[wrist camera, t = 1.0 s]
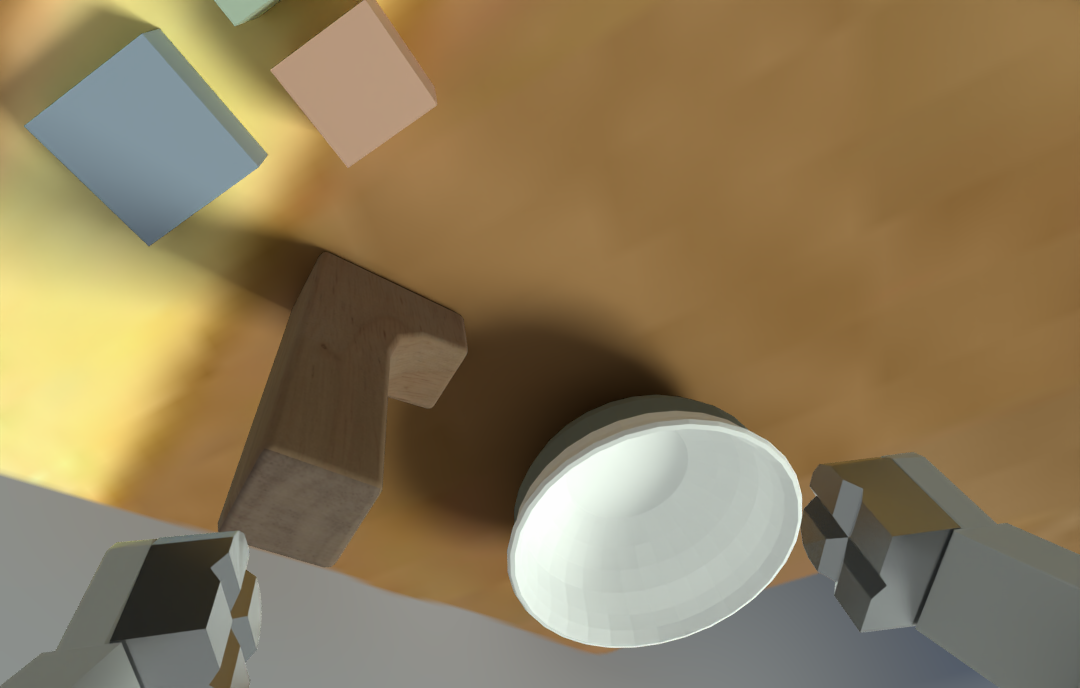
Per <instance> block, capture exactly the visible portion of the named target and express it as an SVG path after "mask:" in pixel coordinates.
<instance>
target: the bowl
mask: <svg viewBox="0 0 1080 688" xmlns="http://www.w3.org/2000/svg"><path fill="white" fill-rule="evenodd" d="M801 521H802V494H801V490H800V486H799V483H798V479H797V475H796V473H795V472H794V470H793V469H792V467H791V465H790V464H789V462H788V460H787V459H786V457H785V456H784V455H783V454H782V453H781V452H780V451H779V450H777V449H776V448H775V447H774V446H773V445H772V444H771V443H770V442H769V441H768V440H766V439H764V438H762V437H760V436H758V435H756V434H754V433H752V432H751V431H749V430H748V429H747V428H746V427H745V426H743V425H742V424H741V423H740V422H739V421H738V420H737V419H736V418H735V417H733V416H732V415H730V414H728V413H726V412H724V411H723V410H721V409H719V408H717V407H715V406H713V405H709V404H706V403H702V402H699V401H695V400H692V399H687V398H683V397H678V396H666V395H646V396H634V397H629V398H625V399H621V400H618V401H614V402H610V403H607V404H605V405H602V406H600V407H598V408H596V409H593V410H591V411H589V412H586V413H585V414H583V415H582V416H580V417H579V418H577V419H575V420H574V421H572V422H571V423H569V424H568V425H566V426H565V427H564V428H563V429H562V430H561V431H559V432H558V433H557V434H556V435H555V436H554V437H553V438H552V439H551V440H549V442H548V443H547V444H546V446H545V447H544V448H543V449H542V451H541V452H540V453H539V455H538V456H537V457H536V459H535V460H534V462H533V463H532V465H531V466H530V468H529V470H528V472H527V474H526V476H525V478H524V480H523V482H522V484H521V486H520V488H519V491H518V495H517V500H516V504H515V508H514V526H513V529H512V533H511V537H510V541H509V545H508V550H507V560H508V575H509V578H510V581H511V584H512V587H513V591H514V593H515V595H516V596H517V598H518V599H519V601H520V602H521V604H522V605H523V607H524V608H525V610H526V611H527V612H528V613H529V614H530V615H532V616H533V617H534V618H535V619H536V620H537V621H538V622H539V623H541V624H542V625H543V626H544V627H546V628H548V629H549V630H551V631H553V632H555V633H557V634H558V635H560V636H562V637H564V638H568V639H571V640H574V641H577V642H580V643H583V644H588V645H595V646H602V647H609V648H622V647H641V646H648V645H655V644H661V643H665V642H669V641H672V640H676V639H680V638H683V637H687V636H689V635H691V634H694V633H696V632H699V631H701V630H704V629H706V628H709V627H711V626H713V625H714V624H716V623H718V622H720V621H722V620H723V619H725V618H727V617H729V616H731V615H732V614H734V613H735V612H736V611H738V610H739V609H741V608H742V607H743V606H745V605H746V604H747V603H749V602H750V601H751V600H753V599H754V598H755V597H756V596H757V595H758V594H759V593H760V592H761V591H762V590H763V589H764V588H765V587H766V586H767V585H768V584H769V583H770V582H771V581H772V580H773V579H774V577H775V576H776V575H777V573H778V572H779V571H780V569H781V568H782V567H783V565H784V564H785V563H786V561H787V559H788V557H789V555H790V553H791V551H792V549H793V547H794V545H795V543H796V540H797V536H798V532H799V528H800V524H801Z"/></svg>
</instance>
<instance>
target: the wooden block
mask: <svg viewBox="0 0 1080 688" xmlns="http://www.w3.org/2000/svg"><path fill="white" fill-rule="evenodd" d="M467 352H468V347H467V340H466V333H465V326H464V319H463V318H462V316H461V315H459V314H457V313H455V312H453V311H451V310H449V309H446V308H444V307H442V306H440V305H438V304H436V303H434V302H432V301H430V300H428V299H425V298H423V297H421V296H419V295H417V294H415V293H413V292H411V291H409V290H407V289H404V288H402V287H400V286H398V285H396V284H394V283H392V282H390V281H388V280H385V279H383V278H381V277H379V276H377V275H375V274H373V273H371V272H369V271H366V270H364V269H362V268H360V267H358V266H356V265H354V264H352V263H350V262H347V261H345V260H343V259H341V258H339V257H337V256H335V255H333V254H331V253H327V252H324V253H322V254H321V255H320V256H319V258H318V259H317V261H316V263H315V265H314V267H313V269H312V271H311V273H310V275H309V277H308V279H307V281H306V283H305V285H304V287H303V289H302V291H301V293H300V295H299V297H298V299H297V301H296V303H295V305H294V307H293V308H292V311H291V314H290V317H289V320H288V323H287V326H286V329H285V331H284V334H283V337H282V340H281V343H280V346H279V349H278V352H277V355H276V357H275V360H274V363H273V366H272V369H271V372H270V375H269V377H268V380H267V383H266V386H265V389H264V392H263V395H262V397H261V400H260V403H259V406H258V409H257V412H256V415H255V418H254V420H253V423H252V426H251V429H250V432H249V435H248V438H247V441H246V444H245V446H244V449H243V452H242V455H241V458H240V461H239V464H238V467H237V469H236V472H235V475H234V478H233V481H232V484H231V487H230V490H229V492H228V495H227V498H226V501H225V504H224V507H223V510H222V513H221V515H220V518H219V521H218V532H228V531H240V532H242V533H244V535H245V538H246V541H247V544H248V545H250V546H253V547H256V548H260V549H263V550H267V551H270V552H274V553H277V554H280V555H284V556H287V557H291V558H294V559H297V560H301V561H304V562H308V563H311V564H315V565H318V566H321V567H331V566H333V565H334V564H335V563H336V562H337V560H338V559H339V557H340V556H341V554H342V553H343V551H344V550H345V548H346V546H347V545H348V543H349V542H350V540H351V539H352V537H353V535H354V534H355V532H356V531H357V529H358V528H359V526H360V524H361V523H362V521H363V520H364V518H365V517H366V515H367V514H368V512H369V510H370V509H371V507H372V506H373V504H374V503H375V501H376V499H377V498H378V496H379V495H380V493H381V492H382V487H383V471H384V454H385V438H386V421H387V405H388V397H390V398H393V399H396V400H400V401H403V402H407V403H410V404H413V405H417V406H420V407H423V408H432V407H433V406H434V405H435V403H436V402H437V400H438V399H439V397H440V395H441V394H442V392H443V391H444V389H445V388H446V386H447V385H448V383H449V381H450V380H451V378H452V377H453V375H454V374H455V372H456V370H457V369H458V367H459V366H460V364H461V363H462V361H463V360H464V358H465V356H466V355H467Z"/></svg>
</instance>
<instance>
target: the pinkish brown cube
mask: <svg viewBox="0 0 1080 688" xmlns="http://www.w3.org/2000/svg"><path fill="white" fill-rule="evenodd" d="M270 71H271V72H272V73H273V75H274V76H275V77H276V78H277V80H278V81H279V82H280V83H281V85H282V86H283V87H284V88H285V90H286V91H287V92H288V93H289V95H290V96H291V97H292V98H293V100H294V101H295V102H296V103H297V105H298V106H299V107H300V108H301V110H302V111H303V112H304V113H305V115H306V116H307V117H308V118H309V120H310V121H311V122H312V123H313V125H314V126H315V127H316V129H317V130H318V131H319V132H320V134H321V135H322V136H323V137H324V139H325V140H326V141H327V142H328V144H329V145H330V146H331V147H332V149H333V150H334V151H335V152H336V154H337V155H338V156H339V157H340V159H341V160H342V161H343V162H344V164H345V165H346V166H347V167H348V168H349V167H350V166H351V165H353V164H354V163H356V162H357V161H358V160H360V159H361V158H363V157H364V156H366V155H367V154H368V153H370V152H371V151H373V150H374V149H375V148H377V147H378V146H380V145H381V144H383V143H384V142H385V141H387V140H388V139H390V138H391V137H393V136H394V135H395V134H397V133H398V132H400V131H401V130H402V129H404V128H405V127H407V126H408V125H410V124H411V123H412V122H414V121H415V120H417V119H418V118H419V117H421V116H422V115H424V114H425V113H427V112H428V111H429V110H431V109H432V108H434V107H435V106H437V99H436V93H435V87H434V85H433V84H432V82H431V81H430V79H429V78H428V76H427V75H426V74H425V72H424V71H423V69H422V68H421V66H420V65H419V63H418V62H417V60H416V59H415V57H414V56H413V54H412V53H411V51H410V50H409V48H408V47H407V45H406V44H405V43H404V41H403V40H402V38H401V37H400V35H399V34H398V32H397V31H396V29H395V28H394V26H393V25H392V23H391V22H390V20H389V19H388V17H387V16H386V14H385V13H384V12H383V10H382V9H381V7H380V6H379V4H378V3H377V1H376V0H363V1H361V2H360V3H359V4H357V5H356V6H355V7H353V8H352V9H351V10H349V11H348V12H347V13H345V14H344V15H343V16H341V17H340V18H339V19H337V20H336V21H334V22H333V23H332V24H330V25H329V26H328V27H326V28H325V29H324V30H322V31H321V32H320V33H318V34H317V35H316V36H314V37H313V38H312V39H310V40H309V41H308V42H306V43H305V44H304V45H302V46H301V47H300V48H298V49H297V50H296V51H294V52H293V53H292V54H290V55H289V56H288V57H286V58H285V59H284V60H282V61H281V62H280V63H279V64H277V65H276V66H275V67H273V68H272V69H271V70H270Z"/></svg>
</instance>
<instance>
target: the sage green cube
mask: <svg viewBox="0 0 1080 688" xmlns="http://www.w3.org/2000/svg"><path fill="white" fill-rule="evenodd" d="M214 1H215V2H216V3H217V5H218V6H219V7H220V8H221V10H222V11H223V12H224V13H225V15H226V16H227V17H228V18H229V20H230V21H231V22H232V23H233V25H234V26H237V25H240V24H242V23H245V22H248V21H250V20H253V19H255V18H258V17H260V16H261V15H262V14H264V13H265V12H266V11H267V10H269V9H270V8H271V7H273V6H274V5H275V4H277V3H278V2H279V1H281V0H214Z"/></svg>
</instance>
